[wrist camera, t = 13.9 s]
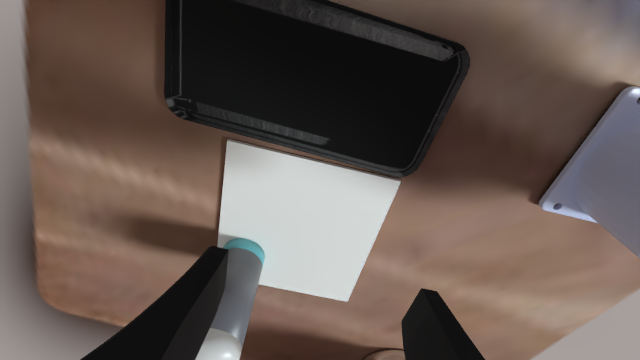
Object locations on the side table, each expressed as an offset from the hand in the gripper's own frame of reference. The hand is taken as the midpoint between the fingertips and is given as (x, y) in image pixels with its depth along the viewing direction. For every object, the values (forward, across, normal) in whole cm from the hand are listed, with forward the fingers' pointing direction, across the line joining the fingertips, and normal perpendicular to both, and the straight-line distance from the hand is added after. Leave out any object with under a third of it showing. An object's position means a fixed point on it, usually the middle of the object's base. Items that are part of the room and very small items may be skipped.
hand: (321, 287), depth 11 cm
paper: (+9, +1, +6) cm, 11 cm away
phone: (+10, +2, -5) cm, 11 cm away
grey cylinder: (+9, +4, +8) cm, 13 cm away
